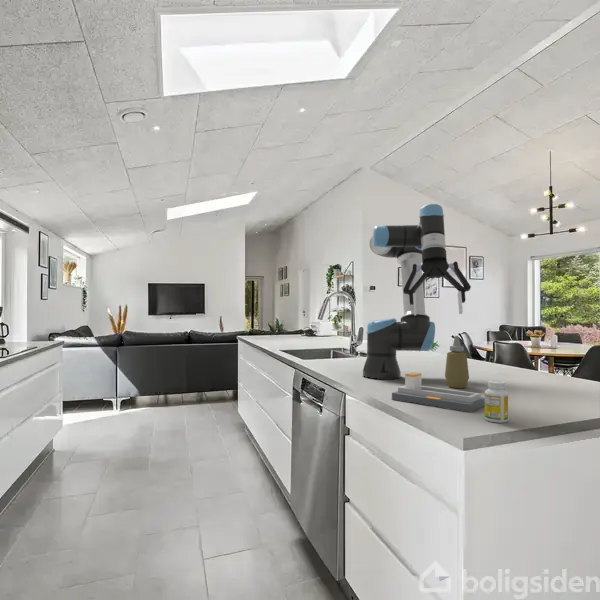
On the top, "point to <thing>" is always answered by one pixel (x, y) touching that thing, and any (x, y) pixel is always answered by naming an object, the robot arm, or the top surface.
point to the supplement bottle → (496, 402)
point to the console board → (441, 398)
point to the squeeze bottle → (456, 366)
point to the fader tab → (413, 380)
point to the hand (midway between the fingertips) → (437, 313)
